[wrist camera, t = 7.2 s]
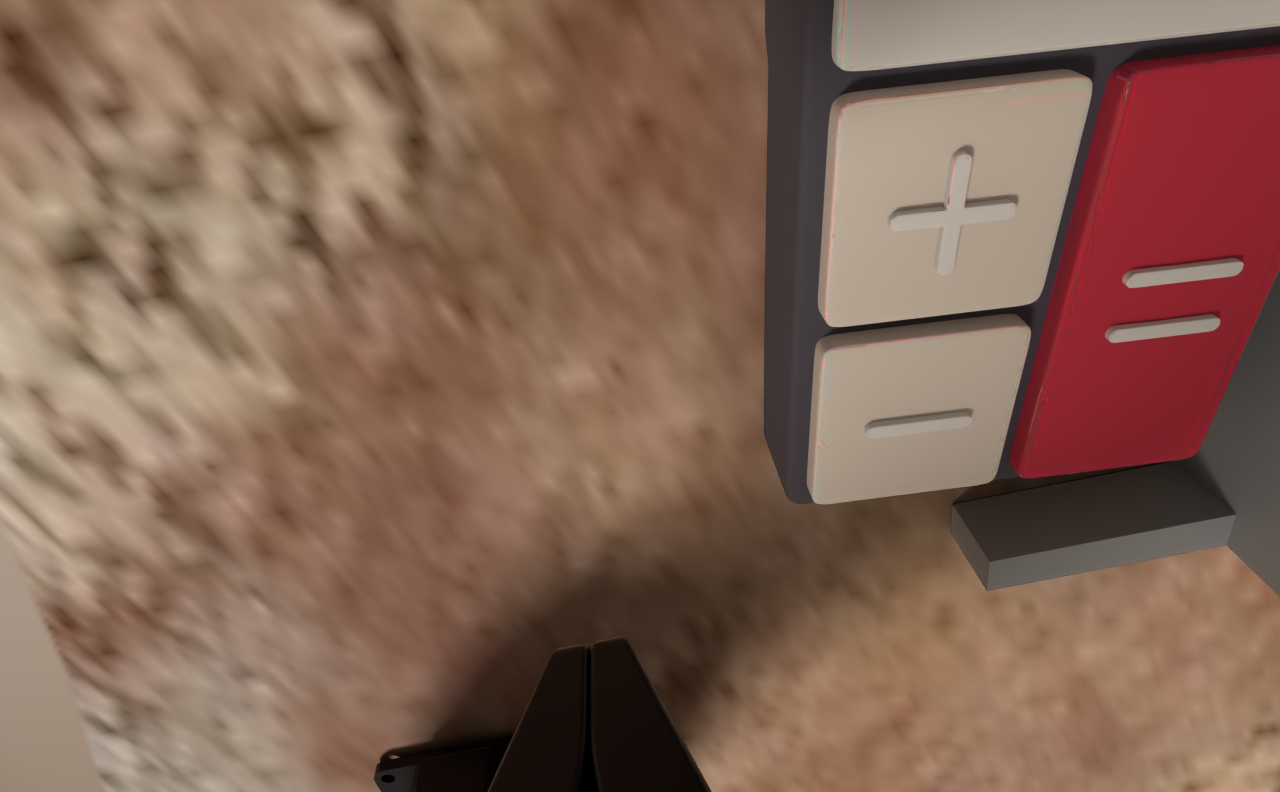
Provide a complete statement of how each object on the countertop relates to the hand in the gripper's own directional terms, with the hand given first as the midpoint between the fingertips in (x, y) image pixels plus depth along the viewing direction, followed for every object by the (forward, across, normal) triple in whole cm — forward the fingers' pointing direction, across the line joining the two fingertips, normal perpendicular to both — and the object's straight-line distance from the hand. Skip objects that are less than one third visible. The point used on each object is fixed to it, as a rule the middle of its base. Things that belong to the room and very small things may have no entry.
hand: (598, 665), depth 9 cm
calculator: (+12, -10, 0) cm, 16 cm away
